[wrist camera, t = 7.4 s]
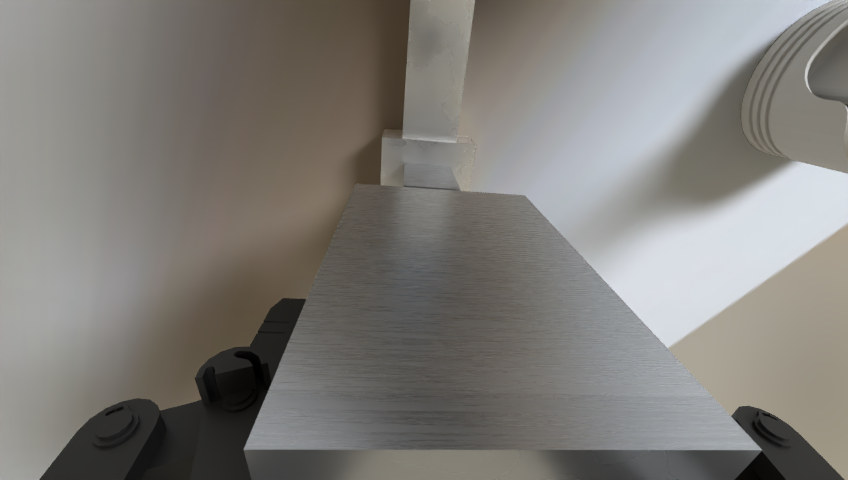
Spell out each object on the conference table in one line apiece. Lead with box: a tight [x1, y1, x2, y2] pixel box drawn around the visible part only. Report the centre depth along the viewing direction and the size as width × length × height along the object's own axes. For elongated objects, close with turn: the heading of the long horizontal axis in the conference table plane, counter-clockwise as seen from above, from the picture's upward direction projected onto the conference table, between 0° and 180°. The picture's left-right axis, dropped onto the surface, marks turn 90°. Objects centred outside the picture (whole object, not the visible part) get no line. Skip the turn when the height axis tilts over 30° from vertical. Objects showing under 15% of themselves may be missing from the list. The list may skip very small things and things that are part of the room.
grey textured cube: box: [244, 183, 762, 480], centre depth 10 cm, size 7×7×10 cm
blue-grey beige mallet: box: [381, 0, 477, 192], centre depth 17 cm, size 24×6×8 cm, turn 175°
